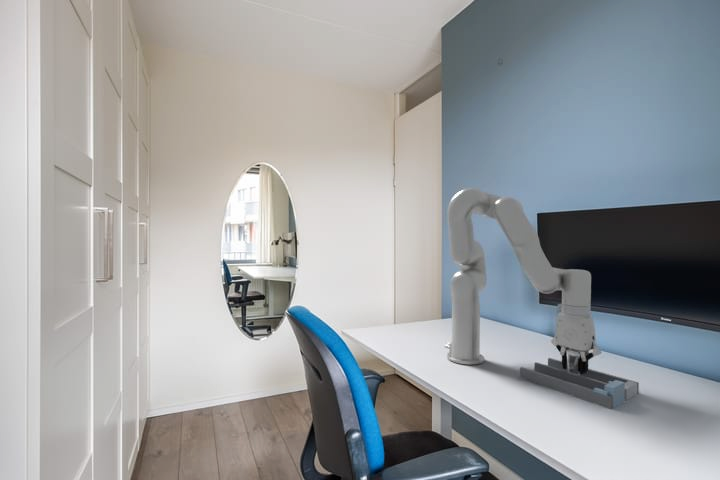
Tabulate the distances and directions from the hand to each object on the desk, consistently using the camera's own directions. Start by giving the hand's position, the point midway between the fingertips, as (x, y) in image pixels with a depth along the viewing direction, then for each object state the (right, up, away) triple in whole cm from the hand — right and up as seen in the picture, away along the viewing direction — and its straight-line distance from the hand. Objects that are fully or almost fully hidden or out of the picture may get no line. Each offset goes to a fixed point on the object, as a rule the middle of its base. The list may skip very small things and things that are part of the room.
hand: (574, 369), depth 111 cm
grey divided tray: (-2, -3, -4) cm, 5 cm away
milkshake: (0, -3, 0) cm, 3 cm away
